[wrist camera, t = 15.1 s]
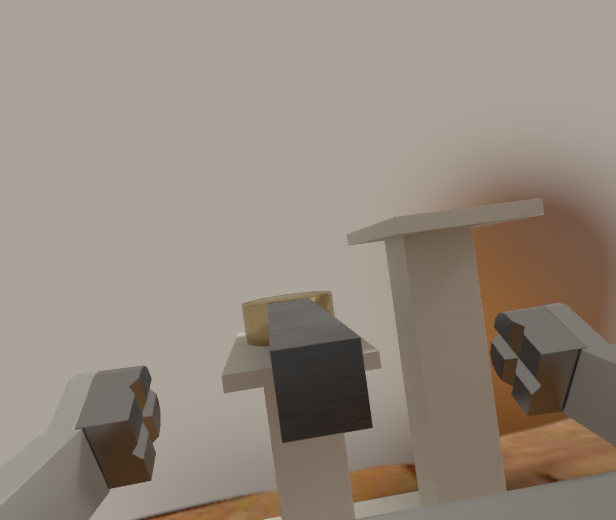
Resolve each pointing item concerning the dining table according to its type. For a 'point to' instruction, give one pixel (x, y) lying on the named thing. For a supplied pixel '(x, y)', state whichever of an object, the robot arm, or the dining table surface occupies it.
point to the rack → (407, 374)
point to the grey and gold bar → (311, 364)
